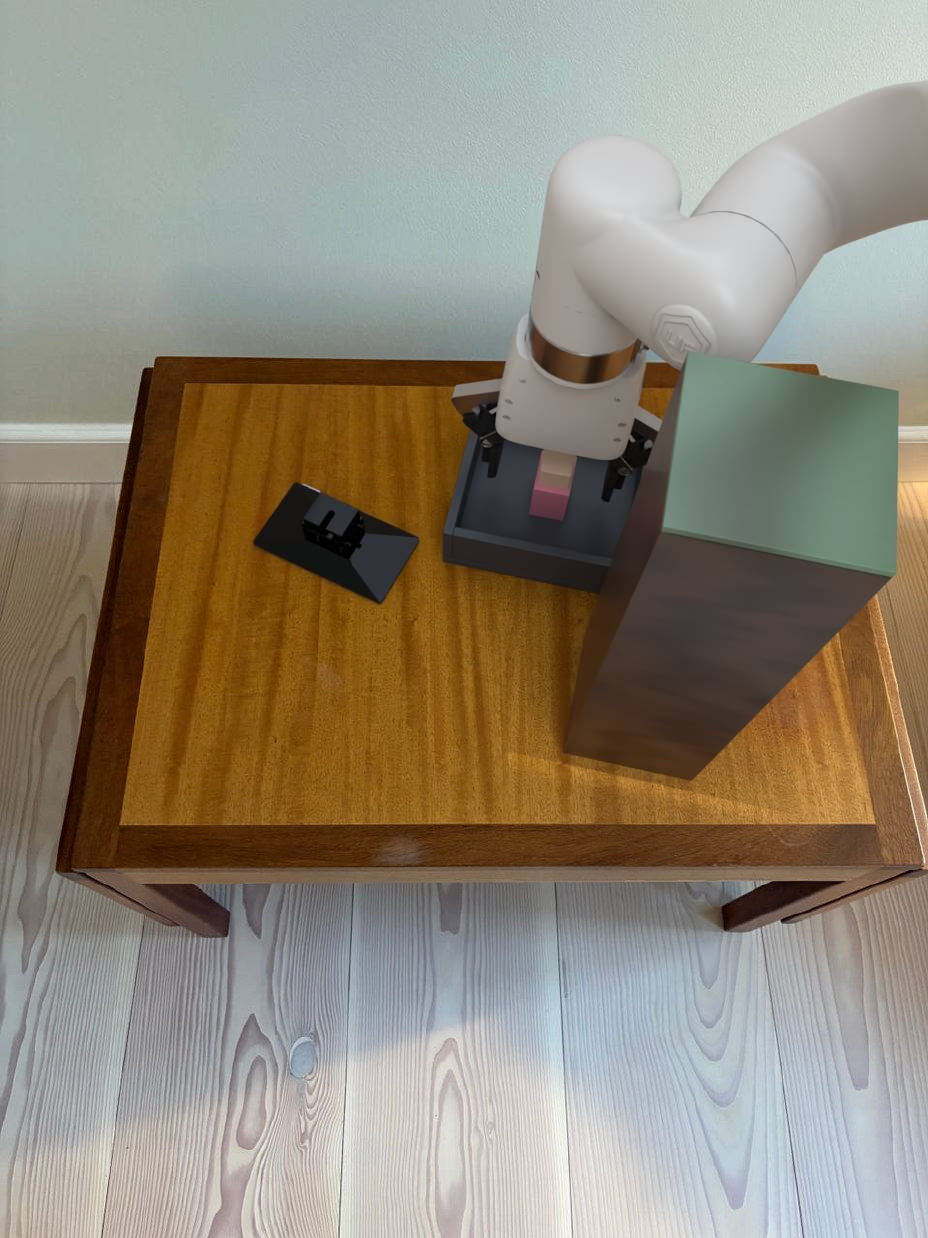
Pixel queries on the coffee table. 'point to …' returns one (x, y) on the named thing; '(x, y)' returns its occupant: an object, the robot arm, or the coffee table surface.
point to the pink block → (552, 484)
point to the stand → (735, 559)
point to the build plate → (337, 542)
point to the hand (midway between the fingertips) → (550, 475)
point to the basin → (535, 519)
